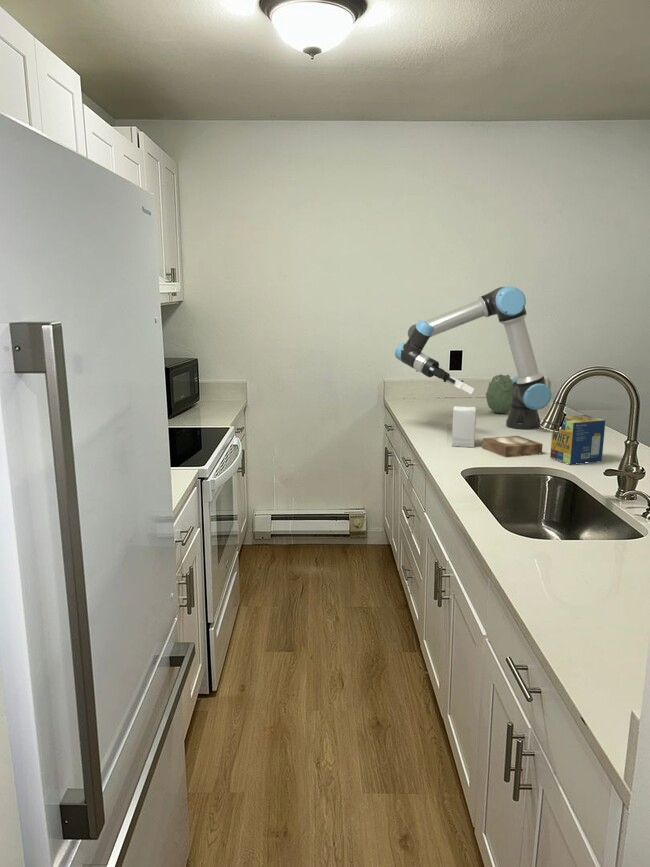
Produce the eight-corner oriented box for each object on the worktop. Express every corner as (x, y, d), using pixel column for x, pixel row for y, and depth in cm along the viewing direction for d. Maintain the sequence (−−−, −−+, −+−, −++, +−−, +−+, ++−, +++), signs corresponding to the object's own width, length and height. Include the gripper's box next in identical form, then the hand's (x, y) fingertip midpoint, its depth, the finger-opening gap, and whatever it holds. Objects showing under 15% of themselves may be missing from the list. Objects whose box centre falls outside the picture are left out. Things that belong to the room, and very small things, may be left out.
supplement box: (474, 447, 270) (476, 410, 267) (451, 446, 271) (452, 409, 268) (474, 443, 278) (476, 406, 275) (452, 442, 280) (453, 405, 277)
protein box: (549, 459, 251) (552, 417, 248) (581, 455, 257) (584, 414, 254) (569, 465, 242) (573, 422, 239) (602, 461, 248) (606, 419, 245)
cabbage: (511, 410, 357) (513, 372, 353) (520, 416, 339) (523, 376, 335) (481, 410, 357) (483, 372, 353) (489, 416, 339) (491, 376, 335)
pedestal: (517, 445, 274) (517, 434, 273) (541, 454, 259) (542, 443, 258) (482, 448, 269) (482, 437, 268) (505, 457, 254) (505, 445, 253)
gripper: (433, 378, 300) (473, 401, 289) (410, 367, 279) (452, 392, 268) (442, 363, 299) (482, 386, 288) (419, 351, 277) (461, 375, 267)
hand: (467, 389), depth 278 cm, fingers open, 13 cm apart
